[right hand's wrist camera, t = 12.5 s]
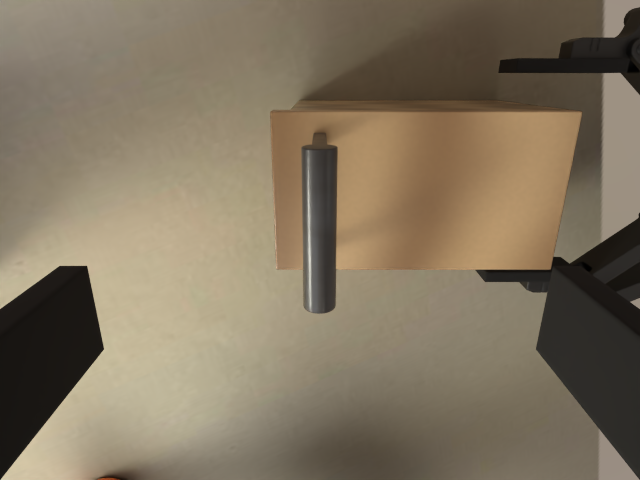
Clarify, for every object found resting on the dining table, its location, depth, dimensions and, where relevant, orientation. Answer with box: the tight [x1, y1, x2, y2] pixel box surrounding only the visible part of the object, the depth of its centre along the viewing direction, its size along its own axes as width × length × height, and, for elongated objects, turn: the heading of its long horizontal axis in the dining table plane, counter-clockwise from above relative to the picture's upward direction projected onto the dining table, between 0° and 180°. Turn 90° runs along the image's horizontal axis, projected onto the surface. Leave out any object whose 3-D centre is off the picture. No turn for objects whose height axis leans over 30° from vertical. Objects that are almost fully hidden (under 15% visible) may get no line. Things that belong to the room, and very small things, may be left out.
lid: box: [270, 110, 582, 313], centre depth 22 cm, size 17×9×8 cm, turn 90°
